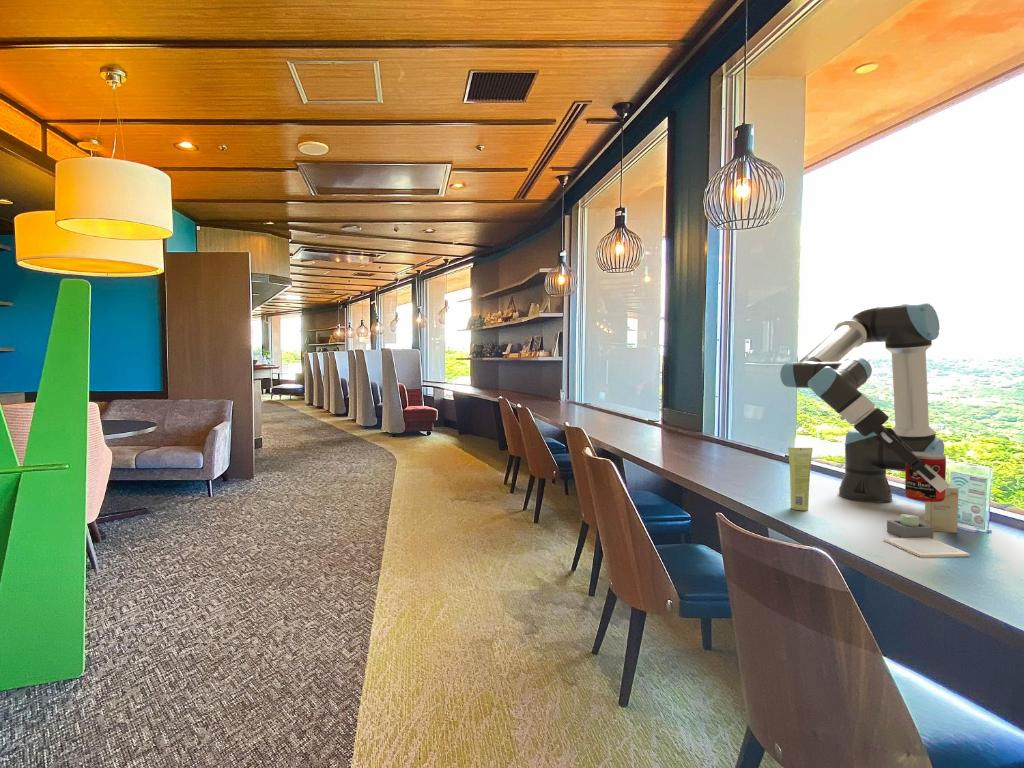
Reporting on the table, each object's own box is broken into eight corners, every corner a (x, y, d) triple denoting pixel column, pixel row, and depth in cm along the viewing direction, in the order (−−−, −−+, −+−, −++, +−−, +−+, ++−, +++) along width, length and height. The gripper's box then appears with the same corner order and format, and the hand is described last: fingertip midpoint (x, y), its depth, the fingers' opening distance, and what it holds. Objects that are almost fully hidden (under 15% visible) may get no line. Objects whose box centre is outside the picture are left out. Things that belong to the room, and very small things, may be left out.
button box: (912, 530, 146) (912, 519, 145) (932, 539, 139) (933, 527, 138) (886, 531, 145) (887, 520, 145) (906, 539, 138) (906, 528, 138)
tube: (795, 505, 173) (795, 445, 172) (812, 508, 169) (812, 447, 168) (787, 508, 169) (787, 447, 168) (804, 512, 165) (804, 449, 164)
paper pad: (928, 539, 138) (928, 537, 138) (969, 556, 126) (969, 553, 126) (883, 540, 138) (883, 538, 138) (920, 557, 126) (920, 554, 126)
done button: (911, 525, 144) (911, 514, 144) (922, 529, 140) (922, 518, 140) (896, 525, 144) (896, 514, 144) (907, 530, 140) (908, 518, 140)
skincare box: (930, 530, 145) (930, 486, 145) (924, 526, 149) (924, 483, 149) (958, 533, 143) (959, 488, 143) (951, 528, 147) (952, 484, 147)
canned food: (898, 496, 133) (898, 452, 133) (917, 493, 137) (918, 450, 136) (932, 503, 126) (933, 457, 126) (952, 500, 130) (953, 455, 129)
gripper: (852, 422, 148) (924, 486, 140) (851, 430, 131) (933, 504, 122) (876, 403, 145) (951, 468, 136) (877, 409, 128) (963, 483, 119)
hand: (942, 485), depth 129 cm, fingers closed on canned food, 8 cm apart
